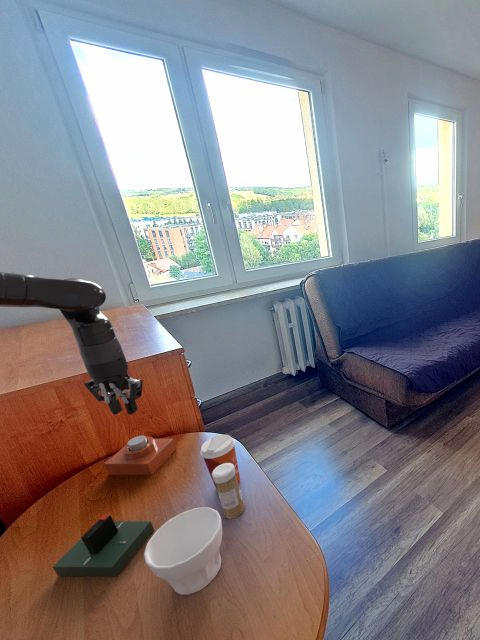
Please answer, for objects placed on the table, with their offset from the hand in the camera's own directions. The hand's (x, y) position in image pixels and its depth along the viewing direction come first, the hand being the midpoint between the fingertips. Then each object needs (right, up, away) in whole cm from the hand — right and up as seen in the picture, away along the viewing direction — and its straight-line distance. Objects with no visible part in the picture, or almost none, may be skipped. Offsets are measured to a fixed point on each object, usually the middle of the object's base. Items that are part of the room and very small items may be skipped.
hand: (125, 412), depth 90 cm
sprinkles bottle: (+35, -22, -9) cm, 42 cm away
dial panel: (+13, -25, -18) cm, 34 cm away
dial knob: (+13, -23, -19) cm, 32 cm away
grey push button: (0, -11, +4) cm, 12 cm away
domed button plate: (0, -16, +6) cm, 17 cm away
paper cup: (+29, -19, -1) cm, 35 cm away
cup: (+35, -27, -22) cm, 49 cm away
